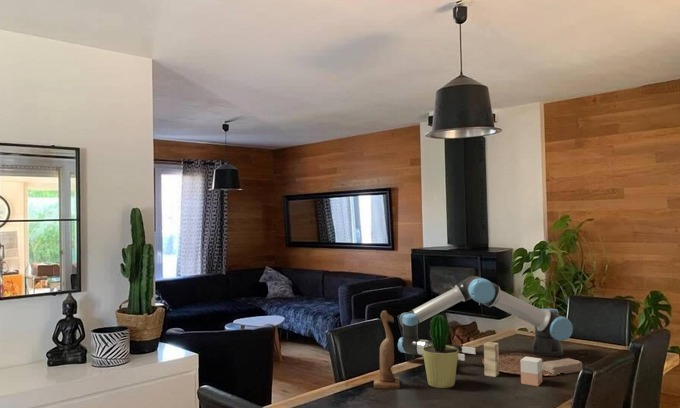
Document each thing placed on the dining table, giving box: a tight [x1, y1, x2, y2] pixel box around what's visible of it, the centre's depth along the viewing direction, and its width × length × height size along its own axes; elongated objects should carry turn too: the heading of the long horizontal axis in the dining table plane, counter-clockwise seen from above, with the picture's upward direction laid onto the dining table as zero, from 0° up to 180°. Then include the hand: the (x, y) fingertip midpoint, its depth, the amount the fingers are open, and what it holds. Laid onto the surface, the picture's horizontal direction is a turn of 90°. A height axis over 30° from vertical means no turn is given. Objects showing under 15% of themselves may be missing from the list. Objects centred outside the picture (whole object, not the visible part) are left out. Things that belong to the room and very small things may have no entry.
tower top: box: [519, 356, 543, 374], centre depth 221 cm, size 7×7×5 cm
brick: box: [542, 357, 583, 375], centre depth 238 cm, size 17×8×5 cm, turn 108°
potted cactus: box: [423, 314, 459, 389], centre depth 222 cm, size 15×15×30 cm
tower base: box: [520, 370, 543, 387], centre depth 221 cm, size 7×7×5 cm
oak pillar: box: [483, 341, 500, 378], centre depth 233 cm, size 5×5×14 cm
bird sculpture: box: [373, 310, 401, 390], centre depth 222 cm, size 11×12×32 cm
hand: (470, 354), depth 239 cm, fingers open, 13 cm apart
